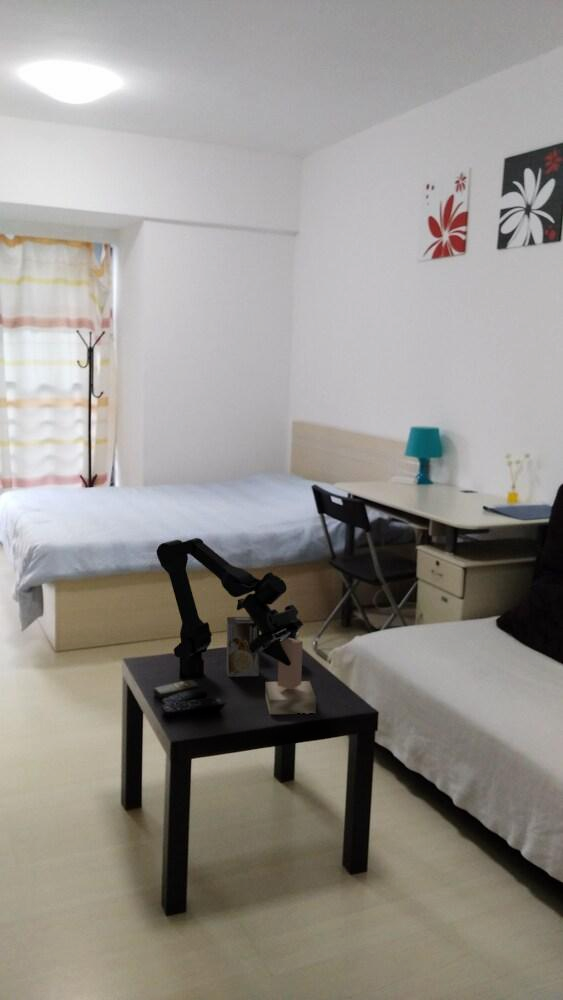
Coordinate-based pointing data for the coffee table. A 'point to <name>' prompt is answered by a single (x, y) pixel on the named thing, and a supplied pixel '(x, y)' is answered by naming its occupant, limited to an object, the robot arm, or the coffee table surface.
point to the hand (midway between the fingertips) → (294, 662)
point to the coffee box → (241, 647)
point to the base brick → (290, 699)
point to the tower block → (291, 673)
